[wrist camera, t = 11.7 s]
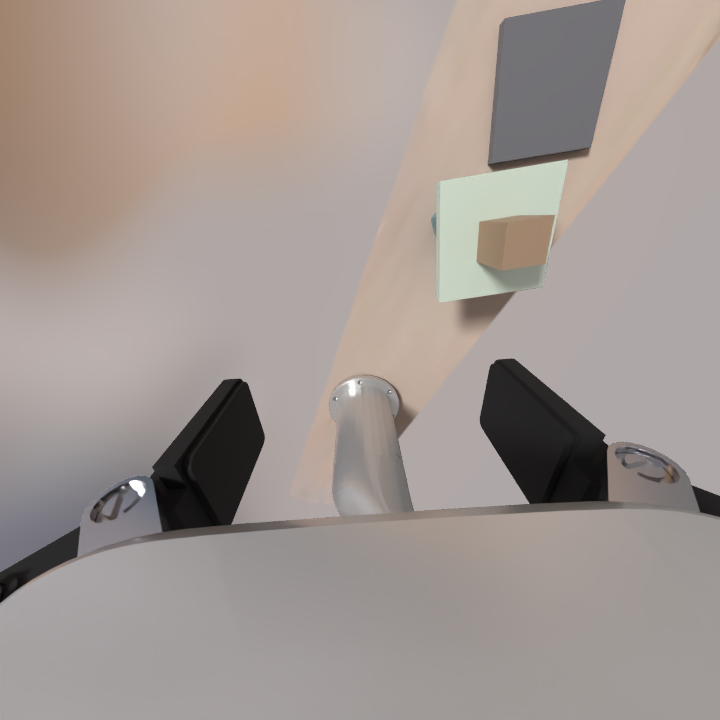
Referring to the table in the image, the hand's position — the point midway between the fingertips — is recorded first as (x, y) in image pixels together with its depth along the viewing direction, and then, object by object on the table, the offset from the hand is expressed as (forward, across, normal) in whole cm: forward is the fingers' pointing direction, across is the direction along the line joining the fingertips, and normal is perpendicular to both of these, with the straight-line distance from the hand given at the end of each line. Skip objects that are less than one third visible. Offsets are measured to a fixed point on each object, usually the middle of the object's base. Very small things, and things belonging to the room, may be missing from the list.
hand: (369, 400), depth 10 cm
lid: (+20, -14, -4) cm, 25 cm away
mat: (+29, -21, -17) cm, 40 cm away
